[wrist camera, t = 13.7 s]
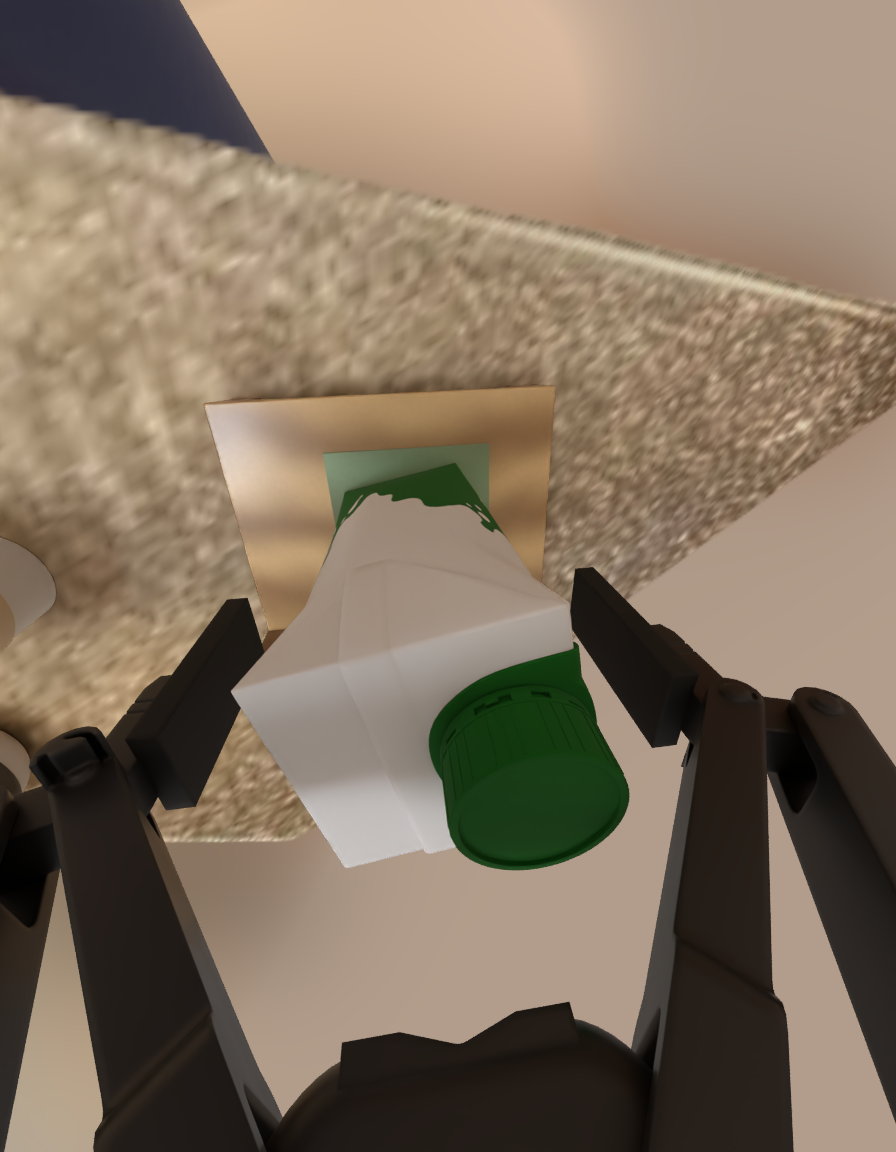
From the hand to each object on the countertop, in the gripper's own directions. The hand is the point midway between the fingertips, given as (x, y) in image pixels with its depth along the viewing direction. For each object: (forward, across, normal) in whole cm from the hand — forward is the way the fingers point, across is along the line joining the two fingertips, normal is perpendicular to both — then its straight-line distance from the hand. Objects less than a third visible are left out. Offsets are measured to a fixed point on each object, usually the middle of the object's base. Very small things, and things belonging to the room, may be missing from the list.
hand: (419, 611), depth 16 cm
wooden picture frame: (+15, -1, 0) cm, 15 cm away
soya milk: (+11, 0, 0) cm, 11 cm away
